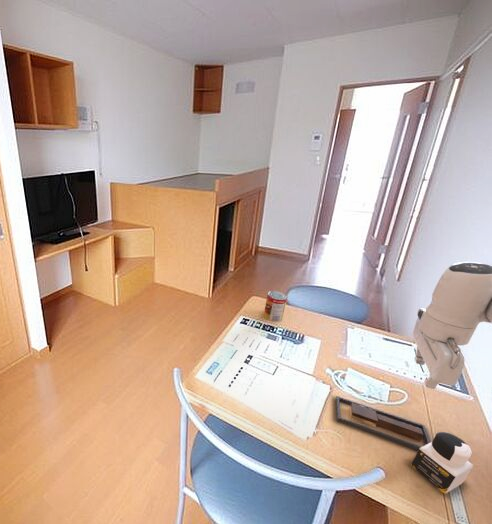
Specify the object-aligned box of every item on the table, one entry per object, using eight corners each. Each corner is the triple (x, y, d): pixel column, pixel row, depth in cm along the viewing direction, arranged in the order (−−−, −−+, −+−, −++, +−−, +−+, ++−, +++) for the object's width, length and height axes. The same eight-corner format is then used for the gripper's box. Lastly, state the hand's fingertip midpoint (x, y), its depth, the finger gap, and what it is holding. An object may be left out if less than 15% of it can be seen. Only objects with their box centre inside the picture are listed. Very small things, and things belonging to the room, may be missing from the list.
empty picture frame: (421, 430, 86) (424, 425, 85) (431, 458, 78) (434, 452, 78) (335, 400, 95) (336, 395, 94) (336, 423, 88) (338, 417, 87)
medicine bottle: (409, 467, 76) (426, 433, 71) (426, 457, 78) (445, 424, 74) (443, 496, 70) (465, 461, 65) (461, 484, 72) (484, 450, 68)
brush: (416, 433, 84) (420, 425, 83) (420, 445, 81) (424, 437, 80) (348, 409, 91) (351, 402, 90) (349, 419, 88) (352, 412, 87)
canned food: (276, 313, 142) (281, 290, 137) (285, 322, 135) (290, 299, 130) (260, 313, 142) (264, 290, 137) (268, 323, 134) (272, 299, 130)
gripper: (482, 358, 62) (454, 408, 67) (448, 311, 78) (428, 355, 84) (441, 348, 64) (418, 397, 70) (417, 305, 81) (399, 347, 86)
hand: (423, 373), depth 77 cm, fingers open, 8 cm apart
